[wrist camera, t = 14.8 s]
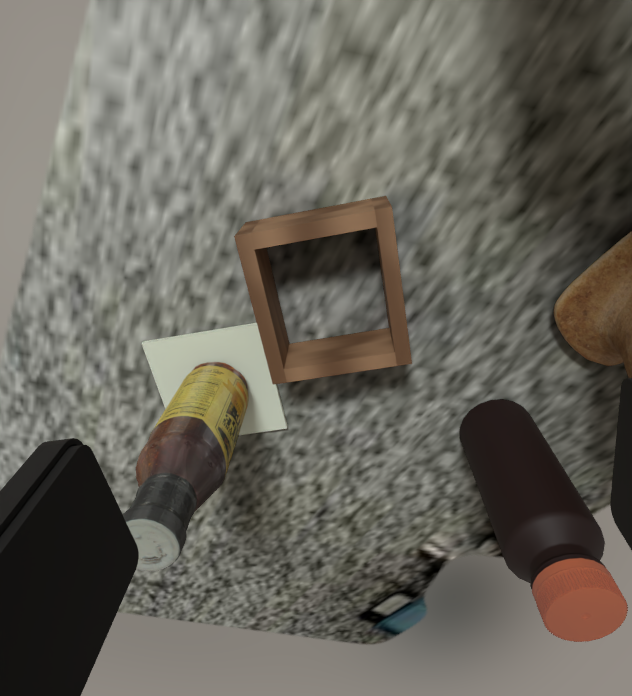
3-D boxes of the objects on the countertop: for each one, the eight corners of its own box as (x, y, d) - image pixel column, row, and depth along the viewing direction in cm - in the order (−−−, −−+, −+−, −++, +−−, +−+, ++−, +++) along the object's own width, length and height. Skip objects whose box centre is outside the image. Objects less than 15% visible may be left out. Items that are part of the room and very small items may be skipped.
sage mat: (261, 321, 45) (260, 324, 45) (287, 425, 50) (287, 428, 49) (143, 341, 47) (141, 343, 46) (179, 440, 51) (178, 443, 51)
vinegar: (546, 424, 49) (669, 612, 30) (493, 468, 51) (578, 667, 33) (496, 384, 47) (594, 557, 29) (443, 431, 49) (504, 619, 31)
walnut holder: (385, 195, 40) (391, 207, 36) (404, 338, 45) (411, 363, 41) (245, 222, 42) (234, 236, 37) (279, 357, 47) (272, 384, 42)
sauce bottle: (242, 423, 49) (186, 604, 31) (179, 404, 49) (84, 578, 31) (260, 365, 47) (209, 528, 29) (193, 345, 46) (98, 498, 28)
